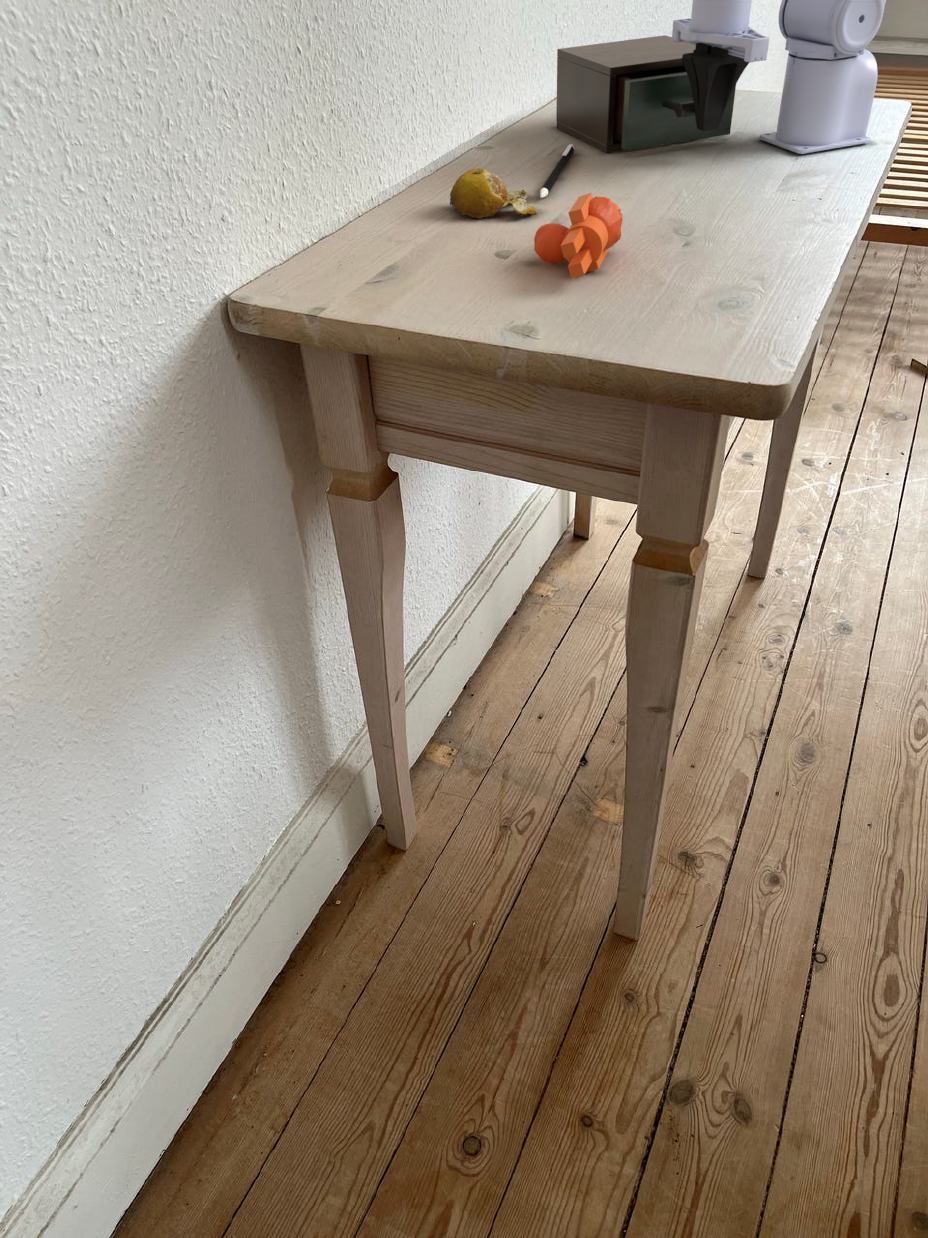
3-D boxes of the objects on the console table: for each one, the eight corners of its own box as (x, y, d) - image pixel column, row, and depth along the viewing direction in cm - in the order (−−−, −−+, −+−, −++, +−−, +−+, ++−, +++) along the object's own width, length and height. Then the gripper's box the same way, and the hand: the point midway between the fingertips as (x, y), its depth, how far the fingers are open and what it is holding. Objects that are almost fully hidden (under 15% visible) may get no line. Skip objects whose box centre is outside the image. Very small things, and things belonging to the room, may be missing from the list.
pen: (576, 150, 108) (576, 140, 108) (545, 201, 94) (545, 190, 94) (568, 150, 108) (569, 140, 108) (536, 201, 95) (536, 189, 94)
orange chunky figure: (595, 218, 72) (622, 174, 81) (507, 245, 76) (542, 200, 84) (612, 281, 75) (637, 232, 84) (527, 305, 78) (558, 255, 87)
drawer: (751, 142, 104) (761, 73, 100) (645, 160, 101) (650, 89, 97) (674, 112, 117) (679, 49, 112) (576, 127, 113) (578, 62, 109)
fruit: (540, 218, 91) (540, 177, 88) (455, 226, 90) (453, 186, 88) (524, 193, 97) (524, 155, 95) (445, 201, 96) (442, 162, 94)
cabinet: (716, 135, 111) (726, 51, 105) (606, 153, 107) (610, 67, 102) (659, 112, 121) (665, 34, 115) (556, 128, 117) (557, 48, 112)
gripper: (651, -28, 96) (641, 119, 105) (731, -13, 85) (712, 148, 94) (711, -34, 98) (696, 111, 106) (796, -21, 87) (772, 139, 96)
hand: (708, 128), depth 100 cm, fingers closed
